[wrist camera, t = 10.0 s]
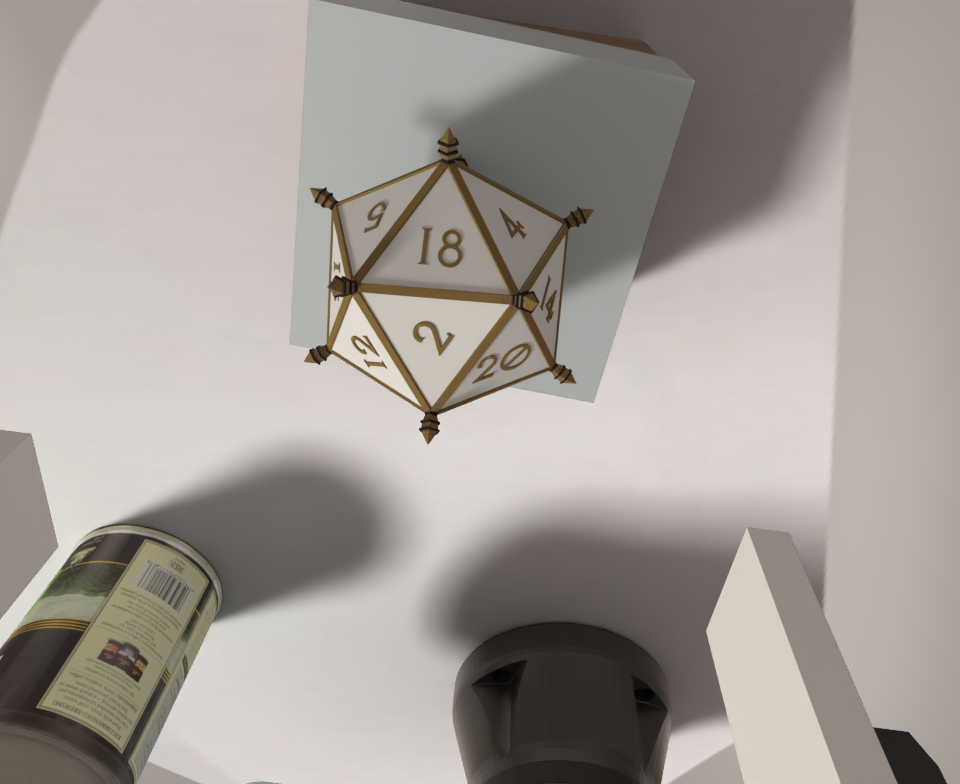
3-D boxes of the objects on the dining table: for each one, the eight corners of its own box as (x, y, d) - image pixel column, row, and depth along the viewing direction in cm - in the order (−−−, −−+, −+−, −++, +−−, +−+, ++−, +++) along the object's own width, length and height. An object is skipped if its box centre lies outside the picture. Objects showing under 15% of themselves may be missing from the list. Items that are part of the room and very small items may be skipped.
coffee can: (66, 608, 52) (-75, 809, 40) (77, 503, 47) (-82, 698, 35) (211, 650, 53) (116, 857, 41) (237, 553, 48) (137, 757, 36)
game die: (497, 169, 28) (691, 149, 20) (480, 389, 30) (653, 456, 21) (258, 135, 24) (377, 89, 15) (253, 395, 25) (358, 484, 17)
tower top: (586, 343, 33) (593, 402, 29) (321, 291, 33) (289, 344, 29) (670, 58, 27) (695, 80, 23) (345, -12, 27) (309, -2, 22)
